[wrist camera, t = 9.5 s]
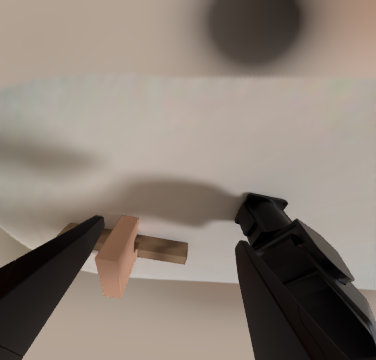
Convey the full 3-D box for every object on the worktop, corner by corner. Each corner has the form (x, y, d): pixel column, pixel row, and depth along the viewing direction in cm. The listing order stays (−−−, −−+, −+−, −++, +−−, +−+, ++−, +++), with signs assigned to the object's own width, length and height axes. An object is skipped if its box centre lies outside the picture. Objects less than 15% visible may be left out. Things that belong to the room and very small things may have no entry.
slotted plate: (138, 218, 25) (117, 261, 18) (137, 254, 31) (121, 298, 24) (122, 215, 25) (94, 258, 18) (124, 252, 31) (104, 295, 24)
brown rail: (187, 243, 28) (187, 257, 26) (185, 250, 29) (184, 264, 27) (70, 223, 27) (56, 236, 24) (72, 231, 28) (60, 244, 25)
